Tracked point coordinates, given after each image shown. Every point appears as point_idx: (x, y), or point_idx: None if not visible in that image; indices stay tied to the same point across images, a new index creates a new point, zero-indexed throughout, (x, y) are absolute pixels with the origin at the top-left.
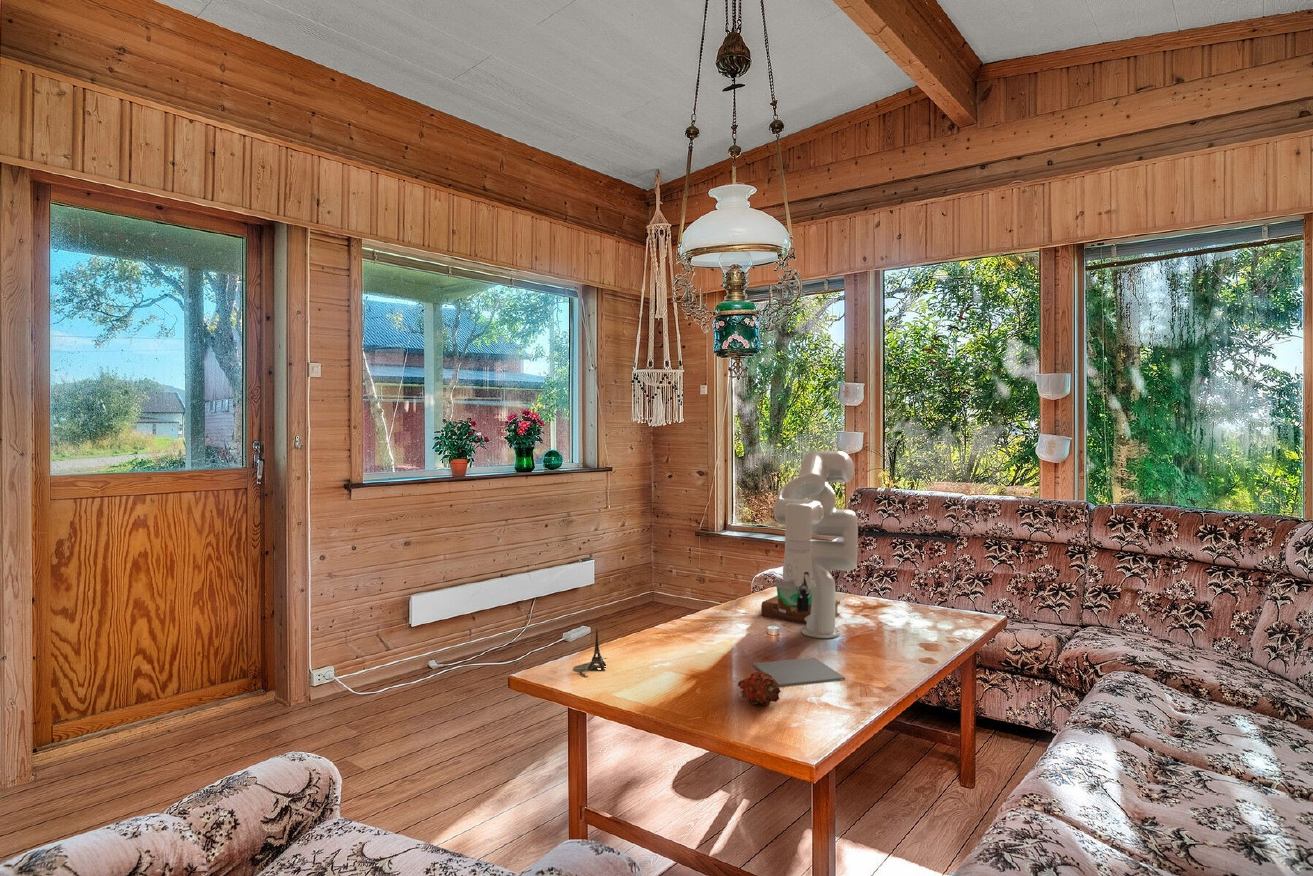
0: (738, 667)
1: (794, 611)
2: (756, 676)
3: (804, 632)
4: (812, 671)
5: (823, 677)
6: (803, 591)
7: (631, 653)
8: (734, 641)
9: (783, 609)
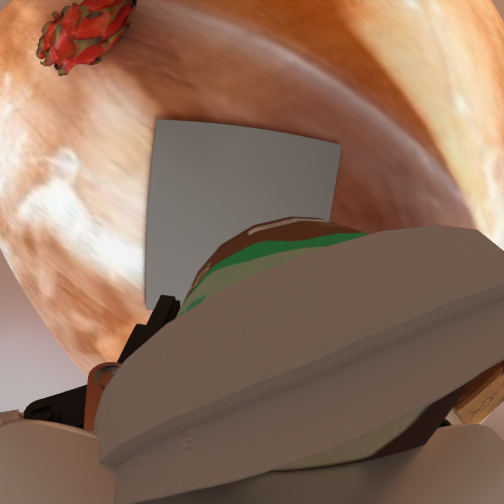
0: (341, 101)
1: (194, 280)
2: (66, 8)
3: None
4: None
5: (160, 262)
6: (38, 416)
7: (467, 4)
8: (479, 217)
9: (271, 228)
